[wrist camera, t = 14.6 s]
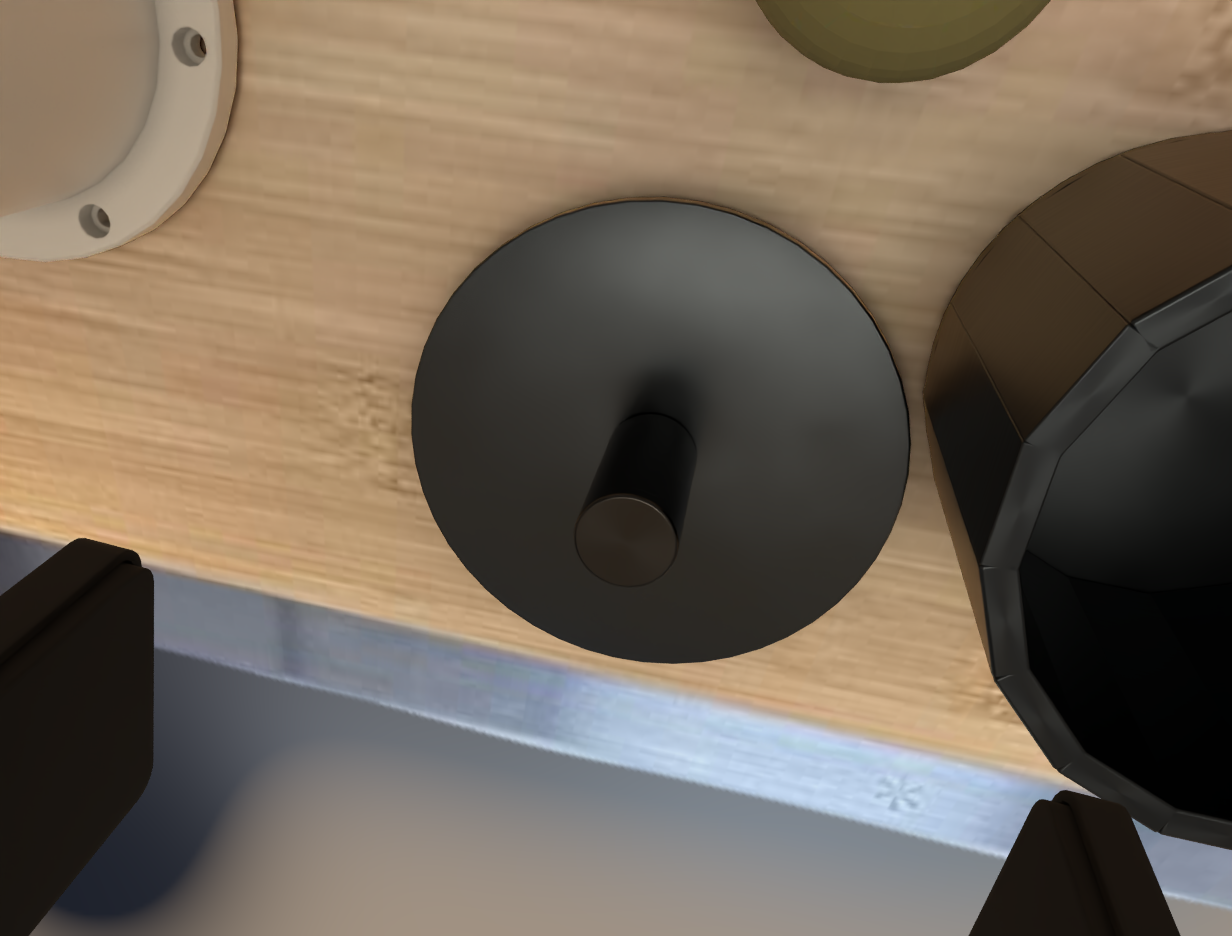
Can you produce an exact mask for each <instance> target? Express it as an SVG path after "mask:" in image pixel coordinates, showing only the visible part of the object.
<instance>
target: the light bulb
mask: <svg viewBox="0 0 1232 936" xmlns="http://www.w3.org/2000/svg"><path fill="white" fill-rule="evenodd" d="M756 2H757V3H758V5H759V7H760V8H761V10H762V12H763V13H764V15H765V16H766V18H767V19H768V21H769V22H770V23H771V25H772V26H773V27H774V28H775V30H776V31H777V32H778V33H779V34H780V35H781V36H782V37H783V38H784V39H785V40H786V41H788V42H789V43H790V44H791V45H792V46H793V47H794V48H796V49H797V50H798V51H799V52H800V53H801V54H803V55H804V56H806V57H807V58H809V59H811V60H812V61H814V62H816V63H817V64H819V65H821V66H822V67H824V68H826V69H829V70H831V71H834V72H837V73H839V74H842V75H844V76H847V77H852V78H857V79H863V80H868V81H873V82H878V83H903V82H914V81H921V80H929V79H933V78H936V77H939V76H942V75H945V74H948V73H952V72H955V71H958V70H961V69H964V68H965V67H967V66H969V65H971V64H973V63H975V62H977V61H978V60H980V59H982V58H984V57H986V56H988V55H990V54H991V53H993V52H995V51H997V50H998V49H999V48H1000V47H1002V46H1003V45H1004V44H1005V43H1007V42H1008V41H1009V40H1010V39H1012V38H1013V37H1014V36H1016V35H1017V34H1018V33H1019V32H1021V31H1022V30H1023V29H1024V28H1026V27H1027V26H1028V25H1029V24H1030V23H1031V22H1032V21H1033V19H1034V18H1035V17H1036V16H1037V15H1038V14H1039V13H1040V12H1041V11H1042V10H1043V8H1044V7H1045V6H1046V5H1047V4H1048V3H1049V2H1050V0H756Z"/></svg>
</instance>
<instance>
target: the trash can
mask: <svg viewBox="0 0 1232 936" xmlns="http://www.w3.org/2000/svg"><path fill="white" fill-rule="evenodd" d="M923 394H924V395H923V401H924V409H925V420H926V432H927V437H928V441H929V446H930V453H931V460H932V468H933V475H934V480H935V483H936V487H937V490H938V493H939V497H940V500H941V504H942V507H943V510H944V514H945V517H946V521H947V524H948V527H949V531H950V534H951V538H952V541H953V544H954V548H955V551H956V555H957V558H958V561H959V565H960V568H961V572H962V575H963V579H964V582H965V585H966V589H967V592H968V596H969V599H970V602H971V606H972V609H973V613H974V616H975V619H976V623H977V626H978V630H979V633H980V636H981V640H982V643H983V647H984V650H985V653H986V657H987V660H988V664H989V667H990V670H991V674H992V675H993V679H994V681H995V683H996V684H997V686H998V687H999V689H1000V690H1001V692H1002V693H1003V695H1004V696H1005V697H1006V699H1007V700H1008V702H1009V703H1010V705H1011V706H1012V708H1013V709H1014V711H1015V712H1016V714H1017V715H1018V716H1019V718H1020V719H1021V721H1022V722H1023V724H1024V725H1025V727H1026V728H1027V730H1028V731H1029V733H1030V734H1031V736H1032V737H1033V738H1034V740H1035V741H1036V743H1037V744H1038V746H1039V747H1040V749H1041V750H1042V752H1043V753H1044V755H1045V756H1046V757H1047V759H1048V760H1049V762H1050V763H1051V765H1052V766H1053V767H1054V768H1055V769H1057V771H1058V772H1059V773H1061V774H1062V775H1064V776H1066V777H1067V778H1069V779H1070V780H1072V781H1074V782H1075V783H1077V784H1078V785H1080V786H1082V787H1083V788H1085V789H1087V790H1088V791H1090V792H1091V793H1093V794H1095V795H1096V796H1098V797H1099V798H1101V799H1103V800H1107V801H1111V802H1115V803H1119V804H1121V805H1122V806H1124V807H1125V808H1126V809H1127V811H1128V812H1129V814H1130V816H1131V817H1132V818H1133V819H1135V820H1136V821H1138V822H1140V823H1141V824H1143V825H1145V826H1146V827H1148V828H1149V829H1151V830H1153V831H1154V832H1159V833H1160V834H1162V835H1166V836H1171V837H1175V838H1180V839H1184V840H1189V841H1193V842H1198V843H1202V844H1207V845H1211V846H1216V847H1220V848H1224V849H1229V850H1232V130H1230V131H1225V132H1217V133H1205V134H1198V135H1191V136H1185V137H1178V138H1171V139H1168V140H1164V141H1160V142H1157V143H1153V144H1149V145H1146V146H1142V147H1138V148H1135V149H1132V150H1129V151H1127V152H1124V153H1122V154H1119V155H1117V156H1114V157H1112V158H1109V159H1107V160H1104V161H1102V162H1099V163H1097V164H1095V165H1093V166H1092V167H1090V168H1088V169H1086V170H1084V171H1082V172H1080V173H1079V174H1077V175H1075V176H1073V177H1071V178H1069V179H1067V180H1066V181H1064V182H1062V183H1061V184H1059V185H1058V186H1056V187H1055V188H1054V189H1052V190H1051V191H1049V192H1048V193H1046V194H1045V195H1044V196H1042V197H1041V198H1039V199H1038V200H1036V201H1035V202H1033V203H1032V204H1031V205H1030V206H1029V207H1028V208H1026V209H1025V210H1024V211H1023V212H1022V213H1021V214H1020V215H1018V216H1017V217H1016V218H1015V219H1014V220H1013V221H1012V222H1010V223H1009V224H1008V225H1007V226H1006V227H1005V228H1004V229H1003V230H1002V231H1001V232H1000V233H999V234H998V236H997V237H996V238H995V239H994V240H993V241H992V242H991V243H990V244H989V246H988V247H987V248H986V249H985V250H984V251H983V252H982V253H981V254H980V256H979V257H978V259H977V260H976V262H975V263H974V264H973V266H972V267H971V269H970V270H969V272H968V273H967V274H966V276H965V277H964V279H963V280H962V282H961V283H960V285H959V287H958V289H957V290H956V292H955V294H954V296H953V298H952V300H951V302H950V304H949V306H948V307H947V309H946V311H945V313H944V316H943V319H942V321H941V324H940V327H939V329H938V332H937V335H936V337H935V340H934V343H933V347H932V352H931V356H930V361H929V365H928V370H927V377H926V383H925V387H924V390H923Z"/></svg>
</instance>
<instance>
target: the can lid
mask: <svg viewBox="0 0 1232 936" xmlns="http://www.w3.org/2000/svg"><path fill="white" fill-rule="evenodd" d="M412 442H413V449H414V457H415V464H416V468H417V471H418V475H419V479H420V482H421V486H422V490H423V493H424V495H425V498H426V500H427V503H428V505H429V508H430V510H431V512H432V515H433V517H434V519H435V521H436V523H437V525H438V527H439V528H440V530H441V532H442V534H443V535H444V537H445V539H446V541H447V543H448V544H449V546H450V547H451V548H452V550H453V551H454V552H455V554H456V555H457V557H458V558H459V559H460V561H461V562H462V563H463V565H464V566H465V567H466V569H467V570H468V571H469V572H470V573H471V574H472V575H473V576H474V577H475V578H476V579H477V580H478V581H479V582H480V584H481V585H482V586H483V587H484V588H485V589H486V590H487V591H488V592H490V593H491V594H492V595H493V596H494V597H495V598H497V599H498V600H499V601H500V602H501V603H503V604H504V605H505V606H506V607H507V608H508V609H510V610H511V611H513V612H514V613H516V614H517V615H519V616H520V617H522V618H523V619H525V620H526V621H528V622H529V623H531V624H532V625H534V626H536V627H538V628H539V629H541V630H543V631H545V632H547V633H549V634H551V635H553V636H555V637H557V638H558V639H561V640H563V641H566V642H568V643H571V644H574V645H576V646H579V647H581V648H584V649H586V650H590V651H593V652H597V653H601V654H604V655H608V656H611V657H615V658H621V659H628V660H634V661H640V662H651V663H670V664H677V663H694V662H706V661H712V660H717V659H723V658H729V657H734V656H737V655H740V654H744V653H747V652H751V651H754V650H757V649H761V648H763V647H765V646H768V645H770V644H772V643H775V642H777V641H779V640H782V639H784V638H786V637H788V636H790V635H792V634H794V633H795V632H797V631H799V630H800V629H802V628H804V627H806V626H807V625H809V624H811V623H812V622H814V621H815V620H817V619H818V618H819V617H820V616H822V615H823V614H824V613H826V612H827V611H828V610H830V609H831V608H832V607H833V606H835V605H836V604H837V603H838V602H839V601H840V600H841V599H842V598H843V597H844V596H845V595H846V594H847V593H848V592H849V591H850V590H851V589H852V588H853V587H854V586H855V585H856V584H857V583H858V582H859V581H860V579H861V578H862V577H863V575H864V574H865V573H866V571H867V570H868V569H869V568H870V566H871V565H872V564H873V562H874V561H875V560H876V558H877V556H878V555H879V553H880V551H881V549H882V547H883V546H884V544H885V542H886V540H887V538H888V537H889V535H890V533H891V531H892V528H893V526H894V523H895V520H896V518H897V515H898V513H899V510H900V507H901V505H902V501H903V496H904V492H905V487H906V483H907V479H908V474H909V461H910V448H911V438H910V424H909V411H908V406H907V402H906V397H905V393H904V388H903V384H902V379H901V376H900V373H899V370H898V368H897V365H896V362H895V360H894V357H893V354H892V352H891V349H890V346H889V344H888V342H887V340H886V338H885V337H884V335H883V333H882V331H881V329H880V328H879V326H878V324H877V322H876V320H875V318H874V317H873V315H872V313H871V312H870V311H869V309H868V308H867V307H866V305H865V304H864V303H863V301H862V300H861V299H860V297H859V296H858V295H857V293H856V292H855V291H854V289H853V288H852V287H851V286H850V285H849V284H848V283H847V282H846V281H845V280H844V279H843V278H842V277H841V276H840V275H839V274H838V273H837V272H836V271H835V270H834V269H833V268H832V267H831V266H830V265H829V264H828V263H827V262H826V261H825V260H823V259H822V258H821V257H819V256H818V255H817V254H815V253H814V252H813V251H811V250H810V249H809V248H807V247H806V246H805V245H804V244H802V243H801V242H800V241H798V240H796V239H795V238H793V237H791V236H789V235H787V234H786V233H784V232H782V231H780V230H779V229H777V228H775V227H773V226H772V225H770V224H768V223H766V222H763V221H761V220H758V219H756V218H753V217H751V216H748V215H746V214H743V213H741V212H738V211H736V210H733V209H729V208H725V207H721V206H717V205H713V204H709V203H705V202H701V201H695V200H686V199H678V198H669V197H631V198H622V199H616V200H609V201H603V202H596V203H592V204H588V205H585V206H582V207H578V208H575V209H572V210H568V211H565V212H562V213H559V214H557V215H555V216H553V217H550V218H548V219H546V220H544V221H542V222H540V223H537V224H535V225H533V226H531V227H529V228H528V229H526V230H524V231H523V232H521V233H520V234H518V235H517V236H515V237H513V238H512V239H510V240H509V241H507V242H506V243H504V244H503V245H501V246H500V247H499V248H498V249H497V250H496V251H494V252H493V253H492V254H491V255H490V256H489V257H487V258H486V259H485V260H484V261H483V262H482V263H481V264H479V265H478V266H477V267H476V268H475V269H474V270H473V271H472V272H471V273H470V274H469V276H468V277H467V278H466V279H465V280H464V281H463V282H462V284H461V285H460V286H459V287H458V288H457V289H456V291H455V292H454V293H453V294H452V296H451V298H450V299H449V301H448V302H447V304H446V305H445V307H444V308H443V310H442V312H441V313H440V315H439V316H438V318H437V320H436V322H435V324H434V326H433V328H432V331H431V333H430V335H429V337H428V339H427V342H426V344H425V346H424V349H423V352H422V356H421V359H420V363H419V366H418V370H417V373H416V378H415V385H414V392H413V399H412Z"/></svg>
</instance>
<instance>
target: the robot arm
mask: <svg viewBox="0 0 1232 936" xmlns="http://www.w3.org/2000/svg"><path fill="white" fill-rule="evenodd" d="M201 37H202V38H203V39H204V42H205V46H206V50H207V51H206V55H205V54H204V53H203V52H202V50H201V48H200V44H199V43H200V38H201ZM237 47H238V35H237V28H236V20H235V12H234V4H233V0H0V257H4V258H10V259H20V260H30V261H40V262H52V261H61V260H70V259H79V258H86V257H89V256H92V255H95V254H98V253H101V252H104V251H107V250H111V249H114V248H117V247H120V246H122V245H124V244H126V243H128V242H130V241H132V240H134V239H136V238H138V237H140V236H142V235H145V234H147V233H149V232H151V231H153V230H155V229H156V228H157V227H158V226H159V225H161V224H162V223H163V222H164V221H165V220H167V219H168V218H169V217H170V216H171V215H173V214H174V213H175V212H176V211H177V210H179V209H180V208H181V207H182V206H183V205H184V204H185V203H186V202H187V200H188V199H189V198H190V196H191V195H192V194H193V192H194V191H195V190H196V188H197V187H198V186H199V184H200V183H201V182H202V180H203V179H204V178H205V176H206V175H207V174H208V172H209V170H210V167H211V165H212V163H213V161H214V158H215V156H216V154H217V152H218V150H219V147H220V145H221V143H222V141H223V138H224V136H225V134H226V130H227V125H228V121H229V117H230V112H231V108H232V103H233V99H234V94H235V90H236V72H237ZM153 673H154V579H153V574H152V572H151V571H150V570H149V569H147V568H143V567H142V565H141V559H140V557H139V555H138V554H137V553H136V552H134V551H133V550H129V549H125V548H121V547H117V546H114V545H110V544H106V543H102V542H98V541H94V540H90V539H86V538H78V539H76V540H74V541H72V542H70V543H69V544H68V545H66V546H65V547H64V548H62V549H61V550H60V551H58V552H57V553H56V554H55V555H53V556H52V557H51V558H49V559H48V560H47V561H45V562H44V563H43V564H42V565H40V566H39V567H38V568H36V569H35V570H34V571H32V572H31V573H30V574H28V575H27V576H26V577H25V578H23V579H22V580H21V581H19V582H18V583H17V584H15V585H14V586H13V587H11V588H10V589H9V590H8V591H6V592H5V593H4V594H2V595H1V596H0V936H29V935H30V933H31V932H32V931H33V930H34V929H35V927H36V926H37V925H38V923H39V922H40V921H41V920H42V919H43V917H44V916H45V915H46V914H47V912H48V911H49V910H50V909H51V907H52V906H53V905H54V904H55V902H56V901H57V900H58V899H59V897H60V896H61V895H62V894H63V893H64V891H65V890H66V889H67V887H68V886H69V885H70V884H71V882H72V881H73V880H74V879H75V878H76V876H77V875H78V874H79V873H80V871H81V870H82V869H83V868H84V866H85V865H86V864H87V863H88V861H89V860H90V859H91V858H92V856H93V855H94V854H95V853H96V852H97V850H98V849H99V848H100V847H101V845H102V844H103V843H104V842H105V840H106V839H107V838H108V837H109V835H110V834H111V833H112V832H113V830H114V829H115V828H116V827H117V825H118V824H119V823H120V822H121V821H122V819H123V818H124V816H125V815H126V814H127V813H128V812H129V811H130V809H131V808H132V807H133V805H134V804H135V803H136V802H137V801H138V799H139V798H140V796H141V795H142V793H143V792H144V790H145V788H146V786H147V784H148V781H149V779H150V776H151V772H152V768H153V706H154V705H153V704H154V703H153V702H154V701H153V698H154V697H153V696H154V691H153V689H154V674H153ZM969 936H1180V934H1179V931H1178V929H1177V927H1176V924H1175V922H1174V919H1173V917H1172V914H1171V912H1170V910H1169V907H1168V905H1167V902H1166V900H1165V898H1164V895H1163V893H1162V890H1161V888H1160V886H1159V883H1158V881H1157V878H1156V876H1155V873H1154V871H1153V869H1152V866H1151V864H1150V861H1149V859H1148V857H1147V854H1146V852H1145V849H1144V847H1143V845H1142V842H1141V840H1140V837H1139V835H1138V833H1137V830H1136V828H1135V825H1134V823H1133V821H1132V818H1131V816H1130V814H1129V812H1128V811H1127V809H1126V808H1125V807H1124V806H1122V805H1121V804H1119V803H1115V802H1111V801H1107V800H1103V799H1099V798H1095V797H1091V796H1088V795H1084V794H1080V793H1076V792H1072V791H1068V790H1063V791H1060V792H1059V793H1058V794H1056V795H1055V797H1054V798H1053V800H1052V801H1048V800H1044V799H1041V800H1038V801H1037V802H1036V803H1035V804H1034V806H1033V807H1032V809H1031V811H1030V813H1029V815H1028V817H1027V819H1026V821H1025V823H1024V825H1023V827H1022V829H1021V831H1020V833H1019V835H1018V837H1017V839H1016V841H1015V843H1014V845H1013V847H1012V849H1011V851H1010V853H1009V855H1008V857H1007V859H1006V861H1005V863H1004V866H1003V867H1002V869H1001V872H1000V874H999V875H998V878H997V880H996V882H995V884H994V886H993V888H992V890H991V892H990V894H989V896H988V898H987V900H986V902H985V904H984V906H983V908H982V910H981V912H980V914H979V916H978V918H977V920H976V922H975V924H974V926H973V928H972V930H971V932H970V934H969Z"/></svg>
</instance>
